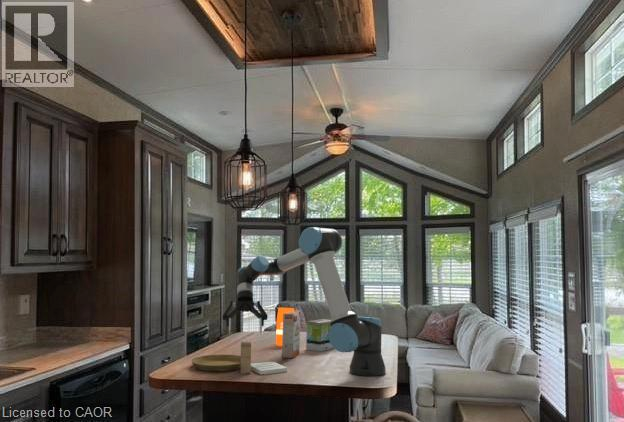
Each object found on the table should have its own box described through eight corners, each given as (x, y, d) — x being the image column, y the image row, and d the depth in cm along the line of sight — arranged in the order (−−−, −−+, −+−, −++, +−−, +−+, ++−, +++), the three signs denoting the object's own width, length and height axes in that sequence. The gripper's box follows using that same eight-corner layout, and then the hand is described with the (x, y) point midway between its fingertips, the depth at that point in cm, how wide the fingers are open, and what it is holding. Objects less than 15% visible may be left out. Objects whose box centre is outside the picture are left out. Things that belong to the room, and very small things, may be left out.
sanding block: (240, 370, 207) (240, 341, 208) (249, 370, 207) (250, 341, 209) (240, 374, 201) (241, 344, 202) (250, 373, 202) (251, 344, 203)
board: (287, 371, 206) (287, 367, 206) (260, 374, 200) (261, 370, 200) (272, 365, 218) (272, 361, 218) (247, 367, 212) (247, 363, 212)
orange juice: (291, 346, 265) (292, 308, 266) (275, 345, 266) (276, 308, 268) (294, 343, 272) (295, 307, 274) (279, 343, 274) (279, 306, 276)
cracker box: (293, 358, 232) (294, 314, 234) (281, 358, 233) (282, 313, 235) (300, 353, 246) (300, 311, 248) (288, 352, 247) (289, 310, 249)
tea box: (321, 352, 250) (321, 322, 251) (305, 349, 256) (306, 320, 257) (337, 347, 262) (338, 319, 263) (322, 345, 268) (322, 318, 269)
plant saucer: (211, 359, 230) (212, 352, 230) (257, 364, 221) (257, 356, 221) (179, 370, 208) (179, 362, 208) (228, 376, 199) (228, 367, 199)
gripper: (270, 299, 237) (272, 336, 221) (218, 299, 233) (216, 337, 216) (271, 289, 232) (274, 326, 216) (218, 289, 228) (216, 326, 212)
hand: (245, 331), depth 216 cm, fingers open, 13 cm apart
